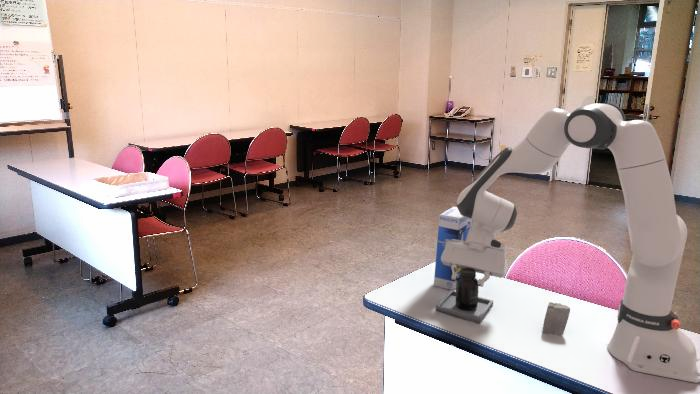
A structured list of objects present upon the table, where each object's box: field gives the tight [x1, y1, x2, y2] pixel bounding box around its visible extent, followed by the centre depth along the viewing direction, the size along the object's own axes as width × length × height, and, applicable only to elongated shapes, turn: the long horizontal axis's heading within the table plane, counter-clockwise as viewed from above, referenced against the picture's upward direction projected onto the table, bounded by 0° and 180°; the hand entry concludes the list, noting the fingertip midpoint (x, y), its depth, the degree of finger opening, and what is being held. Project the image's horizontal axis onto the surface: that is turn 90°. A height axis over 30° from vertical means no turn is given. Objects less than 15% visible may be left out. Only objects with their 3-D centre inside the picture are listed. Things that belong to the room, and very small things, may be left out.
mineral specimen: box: [542, 302, 571, 336], centre depth 153 cm, size 7×9×8 cm
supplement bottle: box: [455, 268, 480, 311], centre depth 163 cm, size 7×7×12 cm
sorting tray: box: [435, 290, 494, 325], centre depth 164 cm, size 14×14×2 cm
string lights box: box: [433, 206, 472, 291], centre depth 181 cm, size 13×8×26 cm, turn 149°
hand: (466, 282), depth 162 cm, fingers open, 7 cm apart
